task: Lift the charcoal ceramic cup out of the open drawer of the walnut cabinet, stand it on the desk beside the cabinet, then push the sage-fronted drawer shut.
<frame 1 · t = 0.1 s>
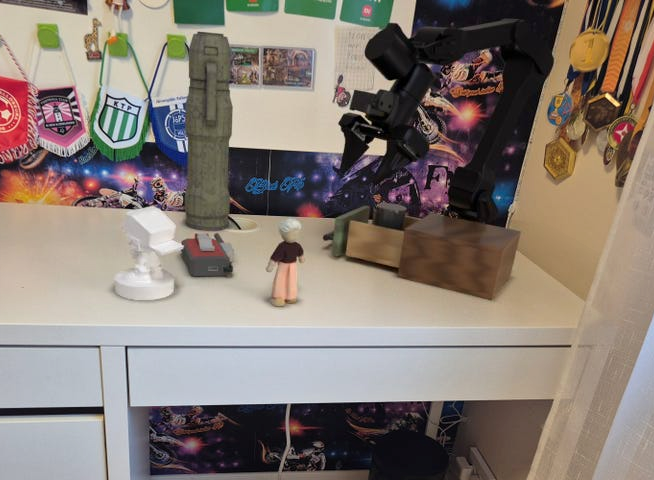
hand: (356, 178, 110), 15 cm above the table, tool tilted 30°, fingers open, 9 cm apart
cabinet: (454, 277, 114), on the table
grandmother figurine: (284, 301, 97), on the table
thermos: (207, 225, 131), on the table
character figurine: (147, 291, 96), on the table
walkie-talkie: (207, 260, 111), on the table
cup: (385, 249, 119), point 2 cm above the table, touching drawer
drawer: (377, 235, 118), point 4 cm above the table, slide at 12.0 cm, touching cup
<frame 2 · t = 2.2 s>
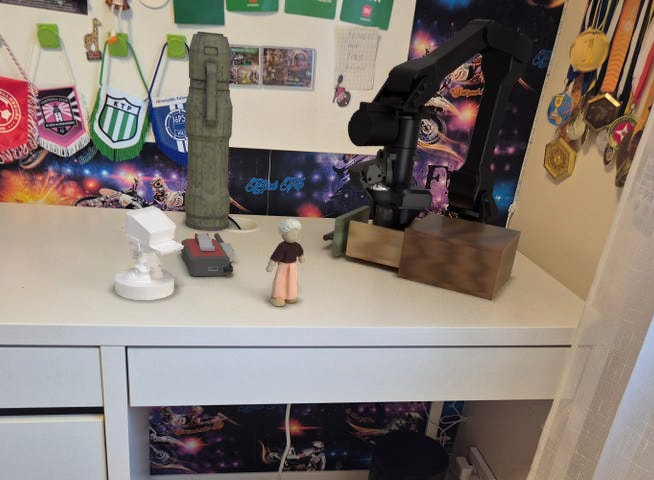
hand: (386, 234, 117), 5 cm above the table, tool pointing down, fingers open, 8 cm apart
nothing on the table moved.
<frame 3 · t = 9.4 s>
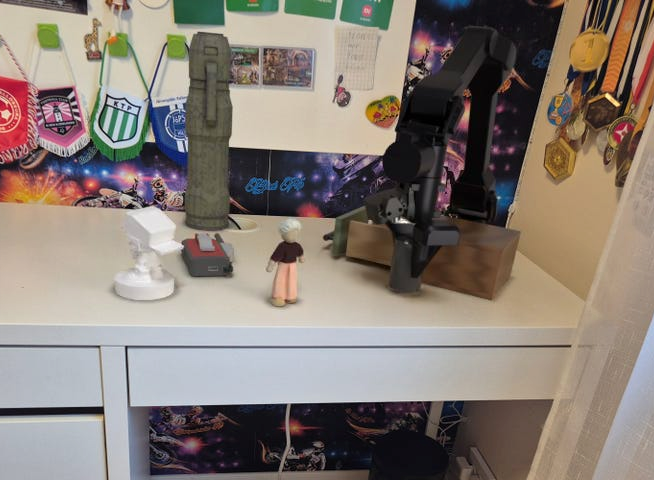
hand: (406, 271, 104), 3 cm above the table, tool pointing down, fingers closed on cup, 5 cm apart
cup: (404, 287, 105), point 1 cm above the table, touching gripper
drawer: (377, 235, 118), point 4 cm above the table, slide at 12.0 cm
everything else where it was.
when the fingers open (4 cm above the table, at t = 12.8 s): cup stays where it is, on the table.
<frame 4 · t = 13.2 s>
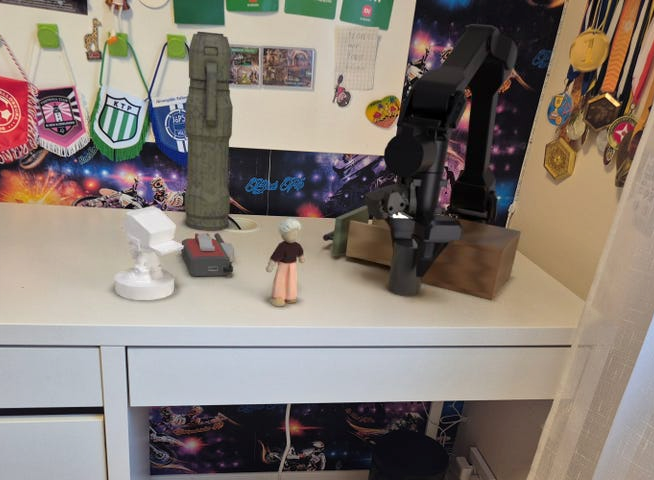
hand: (408, 268, 103), 4 cm above the table, tool pointing down, fingers open, 8 cm apart
cup: (403, 290, 106), on the table
everything else where it was.
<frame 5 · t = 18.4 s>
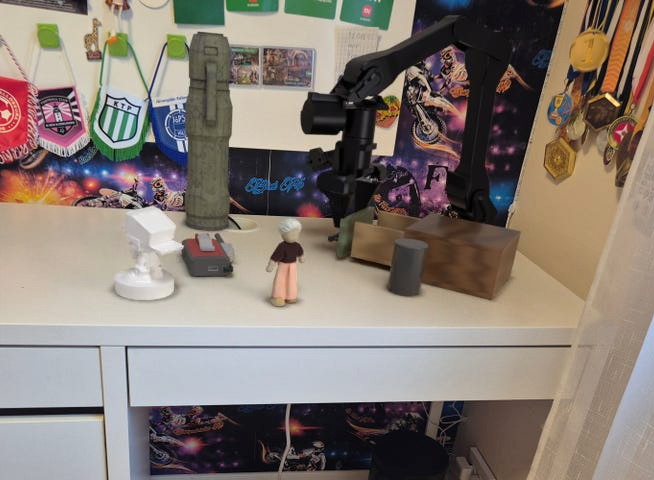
hand: (347, 222, 120), 5 cm above the table, tool pointing down, fingers open, 9 cm apart
drawer: (382, 236, 118), point 4 cm above the table, slide at 11.0 cm, touching gripper
everything else where it was.
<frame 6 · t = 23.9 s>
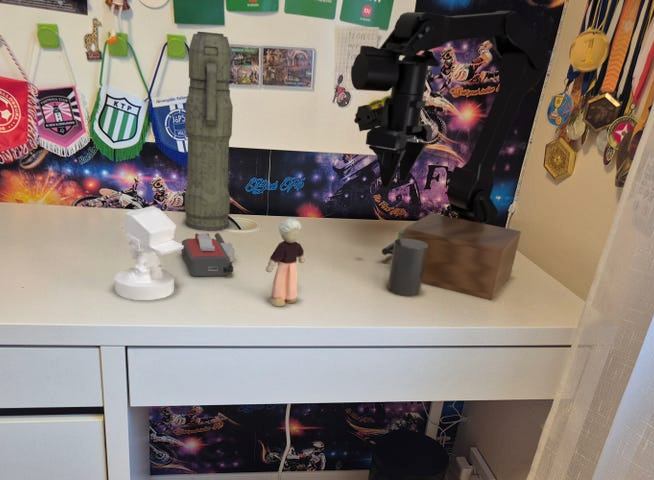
hand: (393, 183, 119), 13 cm above the table, tool pointing down, fingers open, 9 cm apart
drawer: (439, 249, 114), point 4 cm above the table, slide at 0.0 cm, touching cabinet
everything else where it was.
at the end: cup 0.0 cm from the target spot, on the table; cup tilted 0°; drawer slide at 0.0 cm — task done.
